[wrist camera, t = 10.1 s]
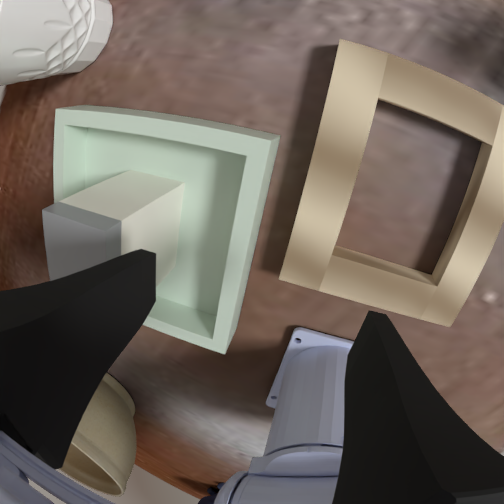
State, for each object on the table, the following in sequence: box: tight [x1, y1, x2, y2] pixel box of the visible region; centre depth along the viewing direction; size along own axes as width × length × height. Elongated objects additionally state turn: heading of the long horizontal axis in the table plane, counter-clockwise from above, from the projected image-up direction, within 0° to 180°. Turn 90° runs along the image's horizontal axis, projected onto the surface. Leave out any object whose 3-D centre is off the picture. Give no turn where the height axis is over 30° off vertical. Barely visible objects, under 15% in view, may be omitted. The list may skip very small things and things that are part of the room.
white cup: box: [0, 0, 113, 86], centre depth 12 cm, size 8×8×10 cm
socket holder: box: [279, 39, 504, 327], centre depth 16 cm, size 14×12×2 cm
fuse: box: [42, 170, 185, 287], centre depth 17 cm, size 6×4×8 cm, turn 168°
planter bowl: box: [59, 373, 136, 496], centre depth 29 cm, size 16×16×11 cm
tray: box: [53, 105, 280, 354], centre depth 20 cm, size 14×14×3 cm
